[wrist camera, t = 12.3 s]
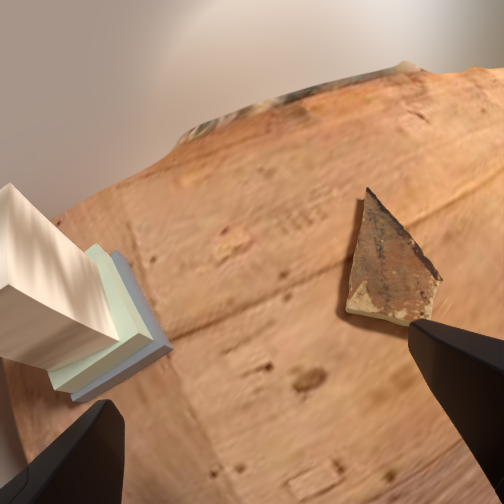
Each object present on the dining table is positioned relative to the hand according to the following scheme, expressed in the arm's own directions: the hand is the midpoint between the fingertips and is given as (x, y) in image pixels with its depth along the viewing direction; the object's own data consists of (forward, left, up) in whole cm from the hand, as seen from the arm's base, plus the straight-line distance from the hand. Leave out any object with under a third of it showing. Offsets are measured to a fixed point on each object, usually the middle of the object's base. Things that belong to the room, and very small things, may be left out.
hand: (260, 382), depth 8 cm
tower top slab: (+7, +12, -12) cm, 19 cm away
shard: (+7, -10, -14) cm, 19 cm away
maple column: (+7, +12, -9) cm, 17 cm away
